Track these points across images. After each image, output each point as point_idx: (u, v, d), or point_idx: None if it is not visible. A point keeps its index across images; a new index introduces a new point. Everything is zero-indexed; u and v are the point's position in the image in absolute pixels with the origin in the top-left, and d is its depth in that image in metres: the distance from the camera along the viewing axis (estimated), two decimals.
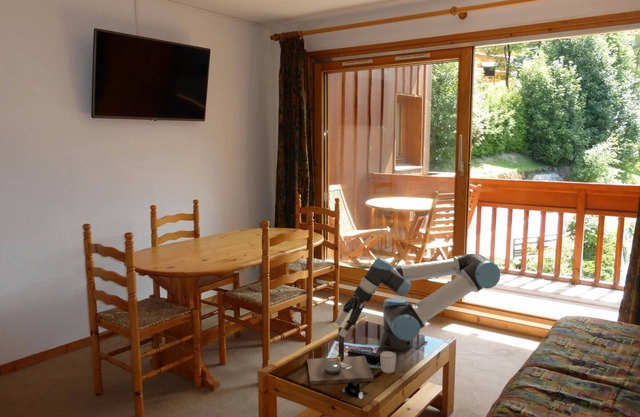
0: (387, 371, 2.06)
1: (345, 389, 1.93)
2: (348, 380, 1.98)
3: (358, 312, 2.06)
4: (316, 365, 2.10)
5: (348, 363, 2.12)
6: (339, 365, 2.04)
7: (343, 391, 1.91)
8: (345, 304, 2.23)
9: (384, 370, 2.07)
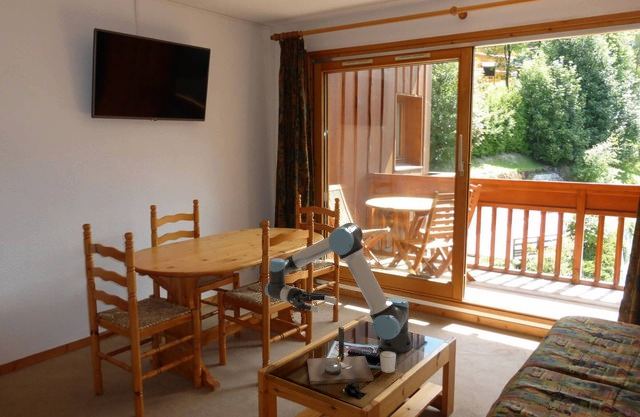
0: (387, 371, 2.06)
1: (345, 389, 1.92)
2: (348, 380, 1.98)
3: (294, 302, 2.20)
4: (316, 365, 2.10)
5: (348, 363, 2.12)
6: (339, 365, 2.04)
7: (343, 391, 1.91)
8: None
9: (384, 370, 2.07)
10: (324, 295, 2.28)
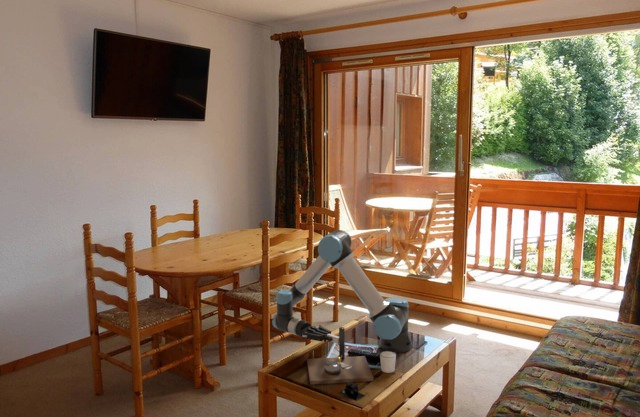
0: (387, 371, 2.06)
1: (345, 390, 1.92)
2: (348, 380, 1.98)
3: (310, 336, 2.20)
4: (316, 365, 2.10)
5: (348, 363, 2.12)
6: (339, 365, 2.04)
7: (342, 391, 1.91)
8: None
9: (384, 370, 2.07)
10: (327, 333, 2.21)
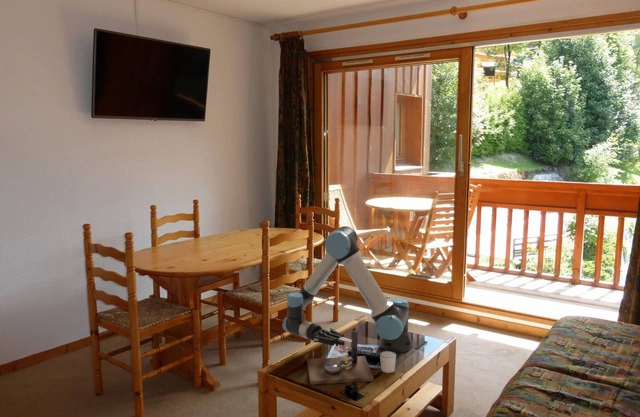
0: (387, 371, 2.06)
1: (345, 390, 1.92)
2: (348, 380, 1.98)
3: (321, 340, 2.15)
4: (316, 365, 2.10)
5: None
6: (337, 367, 2.02)
7: (342, 391, 1.91)
8: None
9: (384, 370, 2.07)
10: (340, 336, 2.17)
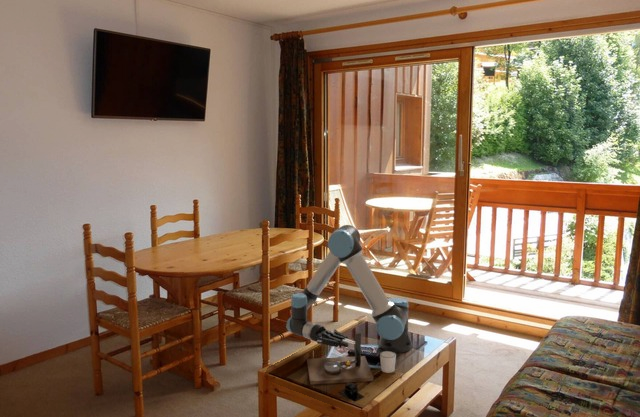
0: (387, 371, 2.06)
1: (344, 390, 1.92)
2: (348, 380, 1.98)
3: (325, 341, 2.14)
4: (316, 365, 2.10)
5: None
6: (336, 367, 2.02)
7: (342, 391, 1.91)
8: None
9: (384, 370, 2.07)
10: (343, 338, 2.15)
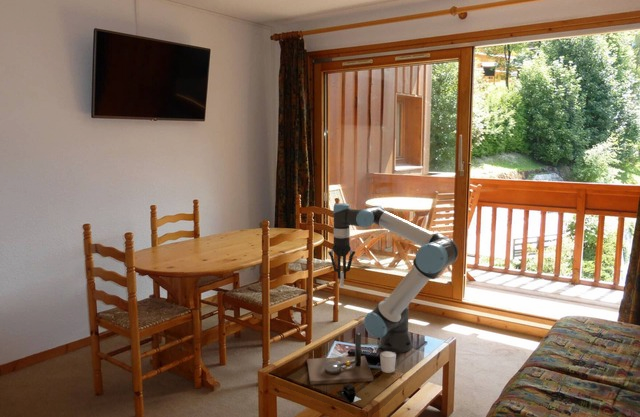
0: (387, 371, 2.06)
1: None
2: (348, 380, 1.98)
3: (331, 259, 2.28)
4: (316, 365, 2.10)
5: None
6: (336, 367, 2.02)
7: (340, 392, 1.91)
8: None
9: (384, 370, 2.07)
10: (343, 270, 2.29)
